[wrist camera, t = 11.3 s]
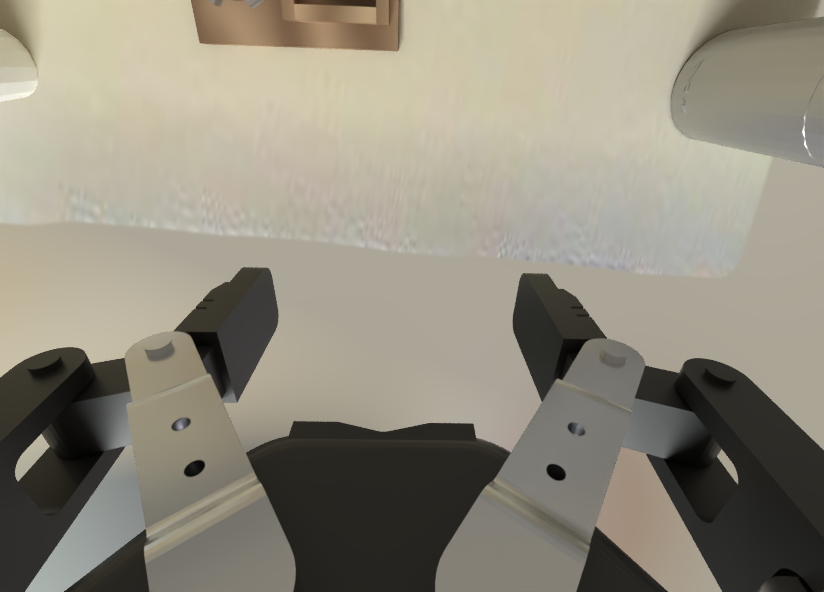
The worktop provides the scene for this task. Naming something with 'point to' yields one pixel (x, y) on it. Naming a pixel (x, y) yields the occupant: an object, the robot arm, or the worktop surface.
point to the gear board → (299, 23)
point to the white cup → (15, 69)
